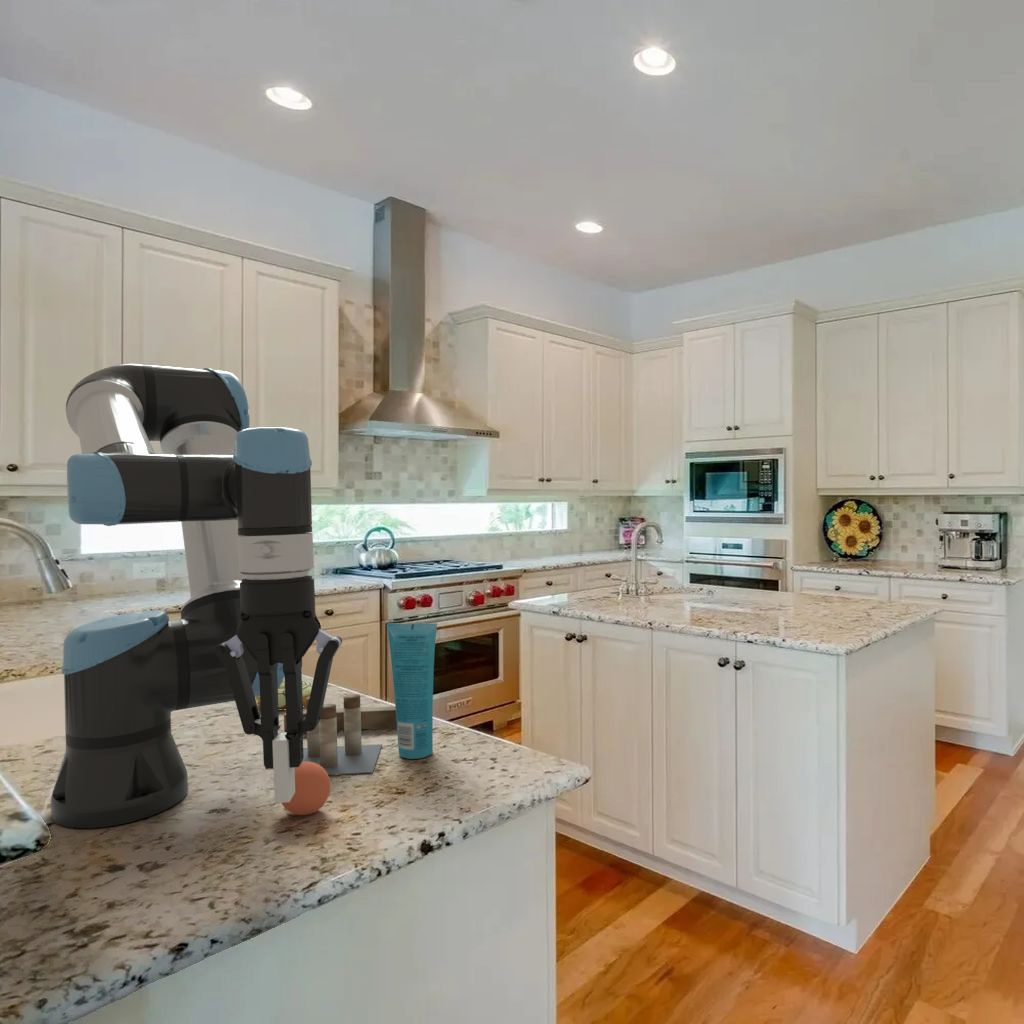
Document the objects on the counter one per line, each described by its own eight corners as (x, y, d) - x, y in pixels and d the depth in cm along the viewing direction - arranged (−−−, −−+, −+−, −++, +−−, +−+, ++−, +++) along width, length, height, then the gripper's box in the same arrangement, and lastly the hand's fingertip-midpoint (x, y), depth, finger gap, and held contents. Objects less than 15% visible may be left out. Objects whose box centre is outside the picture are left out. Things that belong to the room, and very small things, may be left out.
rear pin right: (306, 758, 104) (304, 700, 104) (309, 753, 106) (307, 696, 106) (322, 758, 104) (321, 700, 104) (326, 752, 106) (324, 695, 106)
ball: (273, 825, 83) (271, 774, 83) (286, 803, 89) (284, 755, 89) (326, 822, 83) (324, 771, 83) (335, 801, 89) (333, 753, 89)
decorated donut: (280, 717, 126) (280, 695, 125) (243, 707, 132) (243, 687, 132) (327, 702, 134) (326, 681, 134) (290, 693, 140) (290, 674, 140)
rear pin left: (343, 757, 104) (342, 699, 104) (346, 751, 107) (344, 694, 106) (360, 756, 104) (358, 698, 104) (362, 750, 107) (361, 693, 107)
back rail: (284, 733, 116) (283, 714, 116) (287, 729, 118) (286, 711, 118) (409, 727, 117) (408, 709, 117) (410, 723, 119) (409, 705, 119)
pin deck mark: (275, 778, 97) (275, 776, 97) (294, 749, 108) (294, 748, 108) (372, 773, 98) (372, 771, 98) (381, 745, 109) (381, 744, 109)
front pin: (318, 769, 100) (316, 709, 99) (322, 763, 102) (320, 704, 102) (336, 768, 100) (334, 708, 100) (339, 762, 102) (337, 703, 102)
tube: (442, 747, 107) (438, 619, 107) (438, 759, 102) (435, 625, 102) (392, 748, 107) (389, 620, 107) (386, 760, 102) (383, 626, 102)
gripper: (200, 581, 72) (209, 816, 72) (333, 575, 72) (341, 808, 73) (225, 574, 79) (233, 787, 79) (345, 569, 80) (352, 780, 80)
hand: (285, 797), depth 76 cm, fingers closed
